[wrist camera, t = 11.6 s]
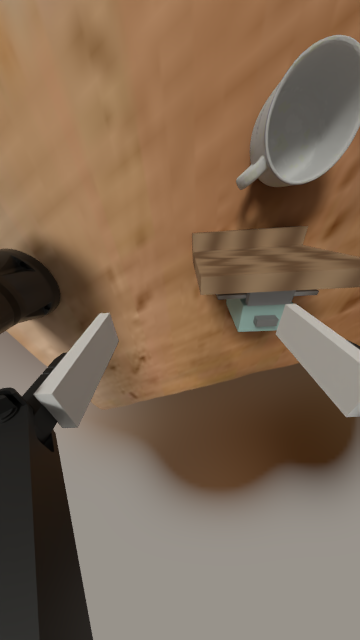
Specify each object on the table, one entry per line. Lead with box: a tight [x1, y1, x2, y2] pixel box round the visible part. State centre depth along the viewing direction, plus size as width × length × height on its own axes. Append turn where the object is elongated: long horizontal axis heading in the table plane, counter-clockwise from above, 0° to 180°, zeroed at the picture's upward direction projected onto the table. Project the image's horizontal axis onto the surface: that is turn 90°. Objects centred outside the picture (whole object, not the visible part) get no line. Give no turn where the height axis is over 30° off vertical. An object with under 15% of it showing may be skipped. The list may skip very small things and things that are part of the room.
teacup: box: [236, 35, 360, 190], centre depth 22 cm, size 14×11×8 cm
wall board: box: [192, 226, 360, 300], centre depth 25 cm, size 20×8×18 cm, turn 94°
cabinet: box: [226, 290, 296, 332], centre depth 27 cm, size 7×9×10 cm
